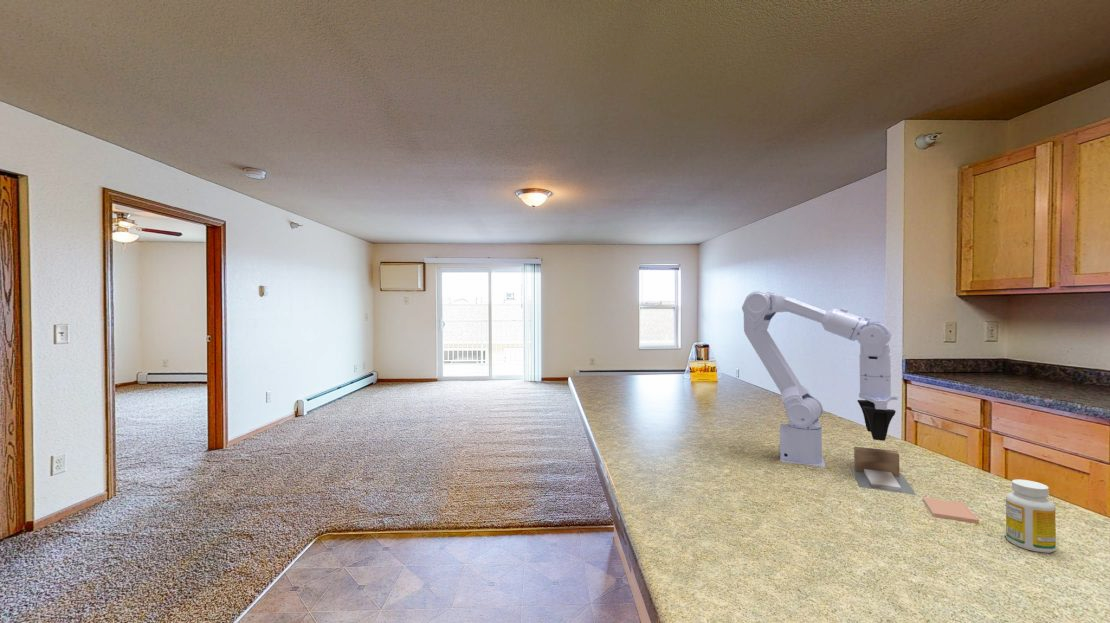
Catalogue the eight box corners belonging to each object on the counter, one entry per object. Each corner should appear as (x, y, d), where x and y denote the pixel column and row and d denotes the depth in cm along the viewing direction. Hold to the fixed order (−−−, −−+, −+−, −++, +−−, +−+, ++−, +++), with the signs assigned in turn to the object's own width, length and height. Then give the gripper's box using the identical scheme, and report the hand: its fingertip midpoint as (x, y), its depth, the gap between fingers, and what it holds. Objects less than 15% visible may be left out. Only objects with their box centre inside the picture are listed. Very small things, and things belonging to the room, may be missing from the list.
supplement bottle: (1004, 544, 71) (1002, 483, 71) (1008, 533, 74) (1007, 475, 74) (1055, 558, 67) (1053, 493, 67) (1057, 545, 70) (1056, 484, 70)
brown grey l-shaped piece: (862, 486, 93) (861, 462, 93) (854, 468, 104) (854, 446, 104) (910, 492, 90) (910, 467, 90) (897, 473, 100) (896, 451, 101)
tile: (922, 505, 86) (933, 522, 79) (922, 496, 86) (933, 513, 79) (963, 511, 83) (978, 530, 76) (963, 502, 83) (978, 520, 76)
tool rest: (858, 489, 93) (858, 486, 93) (850, 469, 105) (850, 466, 105) (916, 497, 89) (916, 494, 89) (901, 475, 101) (901, 473, 101)
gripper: (904, 380, 93) (905, 446, 93) (890, 372, 106) (891, 430, 106) (863, 378, 96) (864, 442, 96) (854, 371, 109) (855, 426, 109)
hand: (875, 435), depth 101 cm, fingers open, 7 cm apart
